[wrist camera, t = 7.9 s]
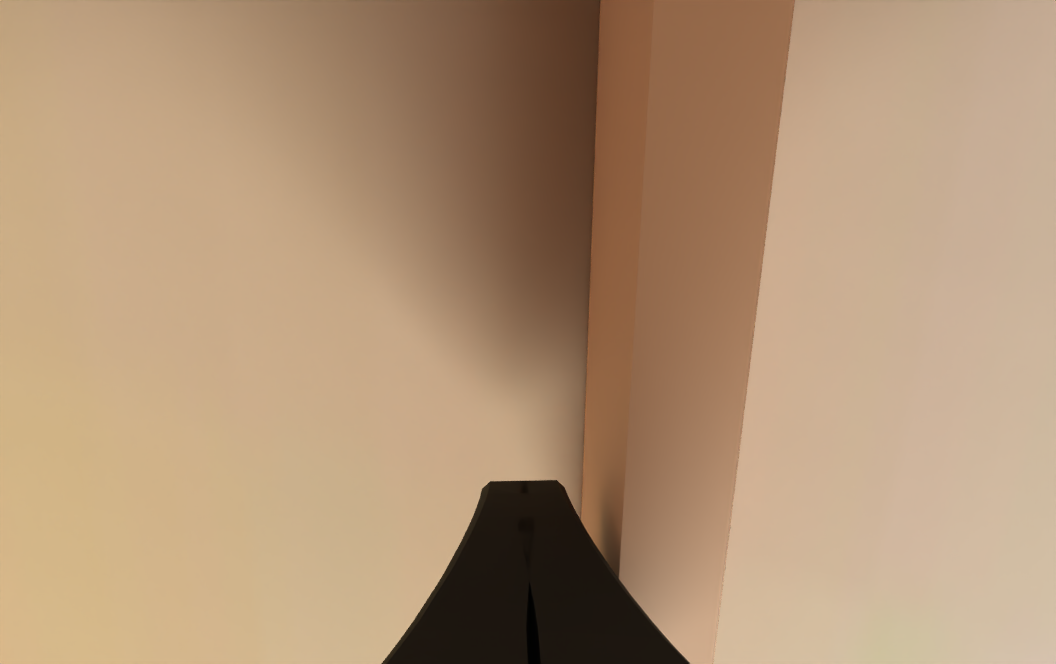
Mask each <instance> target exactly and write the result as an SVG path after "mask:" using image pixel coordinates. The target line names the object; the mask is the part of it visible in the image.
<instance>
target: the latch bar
mask: <svg viewBox="0 0 1056 664" xmlns="http://www.w3.org/2000/svg"><path fill="white" fill-rule="evenodd" d="M794 2H795V0H600V27H599V54H598V81H597V108H596V135H595V162H594V189H593V216H592V242H591V269H590V296H589V323H588V350H587V377H586V404H585V431H584V458H583V485H582V512H581V522H582V524H583V525H584V527H585V529H586V530H587V532H588V534H589V535H590V537H591V539H592V540H593V542H594V543H595V545H596V546H597V548H598V549H599V551H600V552H601V554H602V555H603V557H604V558H605V560H606V561H607V562H608V564H609V565H610V567H611V568H612V570H613V571H614V573H615V574H616V575H617V577H618V578H619V580H620V581H621V582H622V584H623V585H624V586H625V588H626V589H627V590H628V592H629V593H630V594H631V596H632V597H633V598H634V599H635V601H636V602H637V603H638V604H639V606H640V607H641V608H642V609H643V611H644V612H645V613H646V614H647V616H648V617H649V618H650V619H651V621H652V622H653V623H654V624H655V625H656V626H657V628H658V629H659V630H660V631H661V632H662V633H663V634H664V636H665V637H666V638H667V639H668V640H669V641H670V642H671V643H672V645H673V646H674V647H675V648H676V649H677V650H678V651H679V652H680V653H681V654H682V655H683V656H684V657H685V658H686V659H687V660H688V661H689V663H690V664H713V662H714V654H715V645H716V637H717V629H718V621H719V613H720V605H721V596H722V588H723V580H724V572H725V564H726V556H727V548H728V539H729V531H730V523H731V515H732V507H733V499H734V491H735V482H736V474H737V466H738V458H739V450H740V442H741V434H742V425H743V417H744V409H745V401H746V393H747V385H748V377H749V368H750V360H751V352H752V344H753V336H754V328H755V320H756V311H757V303H758V295H759V287H760V279H761V271H762V263H763V254H764V246H765V238H766V230H767V222H768V214H769V206H770V197H771V189H772V181H773V173H774V165H775V157H776V149H777V140H778V132H779V124H780V116H781V108H782V100H783V91H784V83H785V75H786V67H787V59H788V51H789V43H790V34H791V26H792V18H793V10H794Z"/></svg>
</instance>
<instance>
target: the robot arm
mask: <svg viewBox="0 0 1056 664" xmlns="http://www.w3.org/2000/svg"><path fill="white" fill-rule="evenodd" d="M382 664H690V663H689V661H688V660H687V659H686V658H685V657H684V656H683V655H682V654H681V653H680V652H679V651H678V650H677V649H676V648H675V647H674V646H673V645H672V643H671V642H670V641H669V640H668V639H667V638H666V637H665V636H664V634H663V633H662V632H661V631H660V630H659V629H658V628H657V626H656V625H655V624H654V623H653V622H652V621H651V619H650V618H649V617H648V616H647V614H646V613H645V612H644V611H643V609H642V608H641V607H640V606H639V604H638V603H637V602H636V601H635V599H634V598H633V597H632V596H631V594H630V593H629V592H628V590H627V589H626V588H625V586H624V585H623V584H622V582H621V581H620V580H619V578H618V577H617V575H616V574H615V573H614V571H613V570H612V568H611V567H610V565H609V564H608V562H607V561H606V560H605V558H604V557H603V555H602V554H601V552H600V551H599V549H598V548H597V546H596V545H595V543H594V542H593V540H592V539H591V537H590V535H589V534H588V532H587V530H586V529H585V527H584V525H583V524H582V522H581V520H580V518H579V517H578V515H577V513H576V511H575V509H574V507H573V505H572V504H571V501H570V499H569V497H568V495H567V493H566V490H565V488H564V487H563V486H562V485H561V484H560V483H559V482H558V481H557V480H544V481H490V482H489V483H488V484H487V485H486V486H485V487H484V488H483V489H482V492H481V496H480V499H479V502H478V505H477V508H476V511H475V513H474V515H473V518H472V520H471V522H470V524H469V527H468V529H467V531H466V533H465V535H464V537H463V539H462V541H461V543H460V545H459V547H458V549H457V550H456V552H455V554H454V556H453V558H452V560H451V561H450V563H449V565H448V567H447V569H446V571H445V572H444V574H443V576H442V578H441V579H440V581H439V583H438V584H437V586H436V587H435V589H434V590H433V592H432V593H431V595H430V596H429V598H428V600H427V601H426V603H425V604H424V606H423V607H422V609H421V610H420V612H419V613H418V615H417V616H416V618H415V620H414V621H413V622H412V624H411V625H410V627H409V628H408V630H407V631H406V632H405V634H404V635H403V636H402V638H401V639H400V641H399V642H398V643H397V645H396V646H395V647H394V649H393V650H392V651H391V652H390V654H389V655H388V656H387V658H386V659H385V660H384V661H383V663H382Z"/></svg>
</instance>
